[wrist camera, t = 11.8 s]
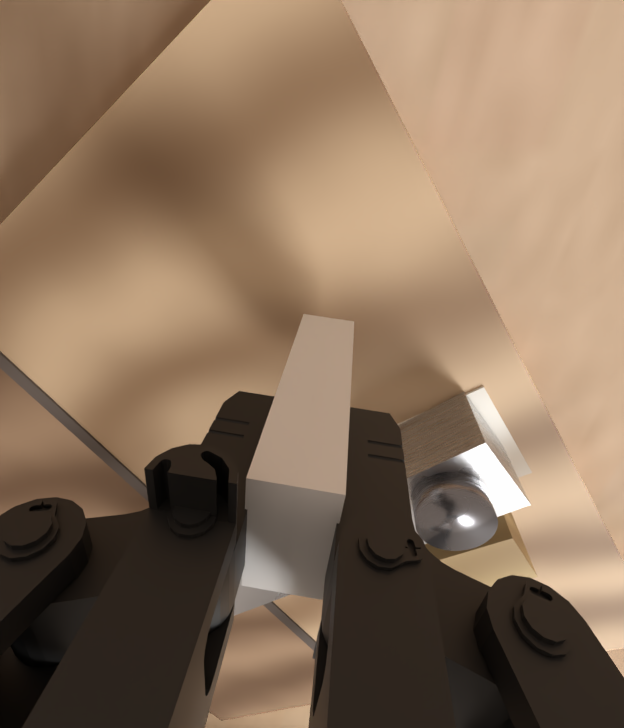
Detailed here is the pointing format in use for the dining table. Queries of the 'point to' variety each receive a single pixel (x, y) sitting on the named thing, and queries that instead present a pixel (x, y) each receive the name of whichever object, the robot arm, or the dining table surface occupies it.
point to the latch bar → (445, 483)
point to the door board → (264, 305)
